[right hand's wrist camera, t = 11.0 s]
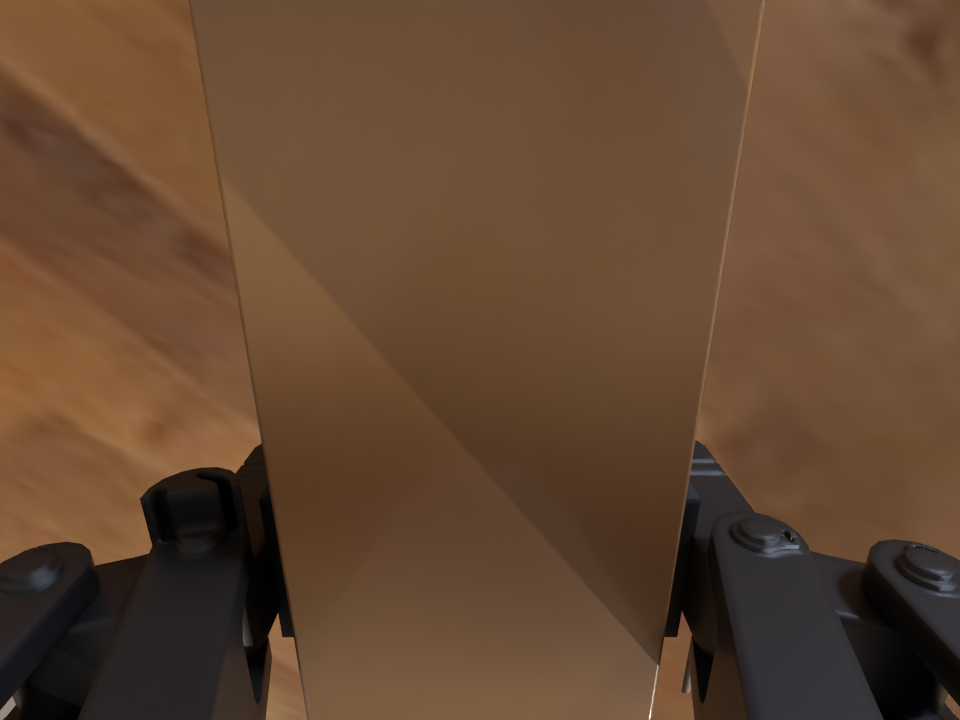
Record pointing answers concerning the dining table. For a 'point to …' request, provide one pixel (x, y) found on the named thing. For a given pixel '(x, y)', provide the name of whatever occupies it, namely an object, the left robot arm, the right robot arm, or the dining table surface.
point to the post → (478, 329)
